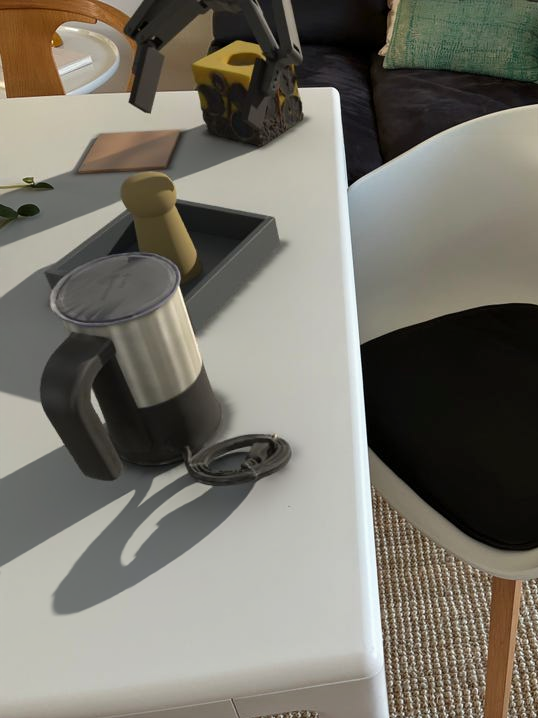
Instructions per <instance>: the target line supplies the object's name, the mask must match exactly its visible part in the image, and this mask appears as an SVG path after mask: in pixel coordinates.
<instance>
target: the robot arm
mask: <svg viewBox="0 0 538 718" xmlns="http://www.w3.org/2000/svg"><path fill="white" fill-rule="evenodd" d="M270 4H271V8H272V13H273V17H274V23H275V28H276V32H277V37H278V41H279V44H278V43H277V41H276V38H275V37H274V35H273V32H272V30H271V29H270V27H269V24H268V23H267V20H266V19H265V16H264V12H263V10H262V8H261V6H260V4H259V1H258V0H143V1H142V2H141V3H140V4H139V6H138V7H137V9H136V10H135V12H133V14H132V15H131V17H130V18H129V20H128V21H127V23H126V24H125V25H124V27H123V29H122V32H123V34H124V35H125V36H126V37H128V38H129V39H130V40H132V41H133V42H134V43H136V50H135V54H134V58H133V62H132V66H131V74H132V75H134V78H133V82H132V85H131V86H132V87H131V90H130V94H129V98H128V101H127V102H128V104H130V105H132V106H133V107H135V108H136V109H138V110H140V111H141V112H143V113H145V114H152V110H153V107H154V102H155V98H156V94H157V91H158V86H159V82H160V78H161V73H162V69H163V65H164V62H165V61H164V60H165V57H166V56H165V55H164V54H163V53H161V50H162V49H163V48H164V47H166V45H167V44H169V43H170V42H171V41H172V40H173V39H174V38H176V36H177V35H179V34H180V33H181V32H182V31H183V30H184V29H185V28H187V26H188V25H190V23H191V22H193V21H194V20H195V19H196V18H197V17H198V16H201V15H205V14H207V13H209V11H210V10H211V11H213V12H223V11H227V12H230V13H232V14H239V13H240V11H242V13H243V15H244V17H245V19H246V22H247V24H248V26H249V28H250V30H251V31H252V34H253V37H254V38H255V40H256V42H257V45H259V46H260V48H261V50H262V52H263V53H261V54H262V55H263V56H264V57H265V58H266V60H264V59H263V58H256V59H255V63H254V67H253V71H252V75H251V80H250V84H249V88H248V92H247V96H246V100H245V105H244V109H243V113H242V117H241V120H243V121H244V122H245V123H247V124H248V125H250V126H251V127H252V128H254V129H256V130H261V128H262V124H263V120H264V115H265V111H266V107H267V103H268V99H269V97H272V98H274V96H275V95H276V93H277V89H278V88H277V87H278V84H279V80H280V76H281V72H282V69H283V68H284V67H285V66H287V65H291V64H294V66H296V67H299V66H300V65H301V64H302V63H303V62H304V61H303V60H304V58H303V54H302V52H303V51H302V49H301V43H300V39H299V34H298V30H297V29H298V28H297V25H296V20H295V16H294V11H293V6H292V2H291V0H270Z"/></svg>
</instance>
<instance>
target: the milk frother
mask: <svg viewBox="0 0 538 718" xmlns="http://www.w3.org/2000/svg"><path fill="white" fill-rule="evenodd" d="M180 279H181V278H180V272H179V270H178V268H177V266H176V265H175V264H174V263H172V262H171V261H170V260H168V259H166V258H164V257H161V256H158V255H156V254H152V253H137V252H134V253H123V254H116V255H110V256H106V257H103V258H99V259H95V260H93V261H91V262H88V263H86V264H84V265H82V266H79V267H77V268H76V269H74V270H73V271H71V272H70V273H69V274H67V275H65V276H64V277H63V278H62V279H61V280H60V281H59V282H58V283H57V284H56V285H55V287H54V288H53V290H52V289H51V290H50V294H49V299H48V301H49V308H50V310H51V311H52V313H53V314H54V315H55V316H56V317H58V318H59V319H60V320H61V321H62V324H63V326H64V328H65V330H66V334H67V335H68V336H67V337H66V338H65V339H64V340H63V342H61V343H60V344H59V345H58V347H57V348H55V350H54V351H53V352H52V354H51V355H50V357H49V358H48V359H47V361H46V363H45V365H44V367H43V371H42V374H41V376H40V377H41V378H40V383H39V398H40V402H41V407H42V410H43V412H44V414H45V415H46V418H47V419H48V421H49V422H50V425H52V427H53V429H54V430H55V432H56V433H57V435H58V437H59V438H60V440H61V442H62V444H63V446H64V447H65V448H66V450H67V451H68V453H69V454H70V456H71V457H72V459H73V460H74V462H75V463H76V465H77V467H78V469H79V470H80V471H81V473H82V474H83V475H84V476H85V477H87V478H90V479H93V480H97V481H104V482H112V481H115V480H118V479H119V477H120V476H121V475H122V473H123V471H124V466H123V462H122V460H121V458H122V459H124V460H125V461H126V462H130V463H134V464H137V465H141V466H163V465H169V464H173V463H174V462H179V461H182V460H183V461H184V466H185V468H186V471H187V473H188V475H189V476H190V479H192V480H193V481H194V482H195V483H199V484H201V485H205V486H209V487H229V486H238V485H243V484H248V483H251V482H255V481H259V480H261V479H264V478H266V477H269V476H271V475H273V474H275V473H277V472H278V471H280V470H281V469H283V468H284V467H286V466H287V464H288V463H289V461H290V460H291V458H292V448H291V445H290V443H289V442H288V441H286V440H285V439H284V438H282V437H279V436H277V435H278V434H277V433H275V432H272V433H271V434H264V433H249V434H242V435H238V436H234V437H230V438H227V439H223V440H222V441H220V442H217V443H215V444H213V445H211V446H208V447H207V448H206V449H204V447H205V446H207V445H209V443H210V442H211V441H212V440H213V439H214V438H215V437H216V435H217V434H218V433H219V431H220V428H221V426H222V423H223V420H224V412H223V407H222V404H221V403H220V401H219V400H218V399H217V398H216V396H215V393H214V389H213V388H212V385H211V382H210V379H209V377H208V374H207V371H206V367H205V365H204V361H203V358H202V354H201V352H200V349H199V345H198V341H197V339H196V334H194V332H193V329H192V325H191V322H190V319H189V316H188V313H187V309H186V306H185V303H184V300H183V296H182V293H181V290H180V287H179V283H180ZM92 393H93V395H94V397H95V399H96V401H97V403H98V406H99V409H100V411H101V412H100V413H101V414H102V416H103V419H104V422H105V424H106V427H107V431H108V433H109V435H108V433H107V431H106V427H105V426H104V424H103V422H102V420H101V418H100V416H99V415H98V412H97V411H96V409H95V407H94V404H93V403H92ZM247 447H250V449H249V452H248V453H247V454H246V455H245V458H244V460H245V461H244V462H242V463H241V464H240V468H238V469H230V470H215V469H213V468H210V467H209V465H210V464H211V462H213V461H214V460H215V459H217V458H219V457H220V456H223V455H225V454H227V453H229V452H232V451H235V450H238V449H239V450H240V449H242V448H247ZM202 449H204V450H202ZM201 450H202V451H201ZM199 451H201V452H200V453H199V454H197V455H196V456H195V457H194V459H193V458H192V457H193V455H194V454H196V453H198V452H199Z"/></svg>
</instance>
